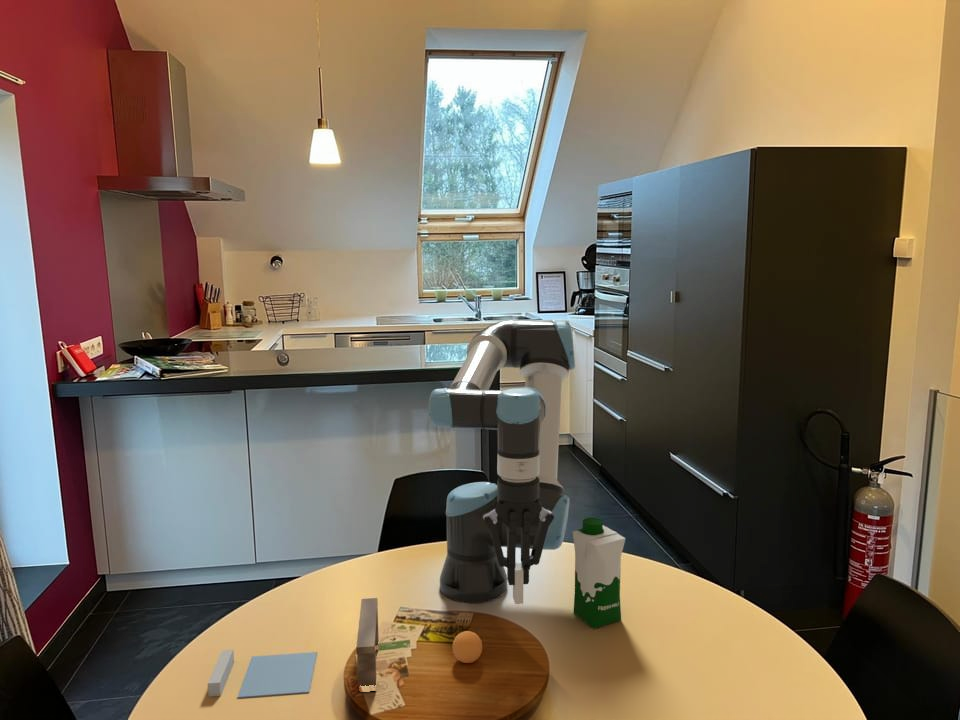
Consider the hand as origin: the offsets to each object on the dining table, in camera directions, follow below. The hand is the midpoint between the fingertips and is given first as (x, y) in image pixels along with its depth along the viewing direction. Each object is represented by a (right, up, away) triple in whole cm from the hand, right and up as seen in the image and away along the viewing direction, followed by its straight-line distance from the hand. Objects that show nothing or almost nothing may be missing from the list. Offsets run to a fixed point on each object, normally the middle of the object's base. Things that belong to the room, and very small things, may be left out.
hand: (518, 600), depth 129 cm
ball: (-9, -9, +1) cm, 13 cm away
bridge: (-27, -12, -1) cm, 30 cm away
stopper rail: (-53, -13, -4) cm, 55 cm away
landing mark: (-43, -12, -2) cm, 45 cm away
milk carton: (+17, -9, +16) cm, 25 cm away
